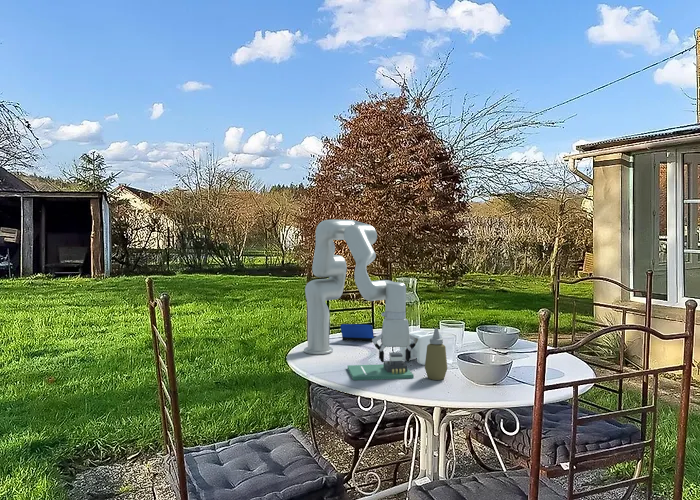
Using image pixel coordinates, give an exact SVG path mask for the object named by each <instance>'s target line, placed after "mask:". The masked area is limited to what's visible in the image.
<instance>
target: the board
mask: <svg viewBox="0 0 700 500" xmlns="http://www.w3.org/2000/svg"><path fill="white" fill-rule="evenodd" d="M402 361H403V365H400V362H394V365H389V360H384V362H383V364H358V365H357V364H354V365H353V364H351V365H347V371H348V372H349V375H350V376H351V379H352V380H353V381H365V380H367V381H370V380H372V381H373V380H374V381H375V380H398V379H399V380H400V379H415V378H414V376H415V375H414V373H413V372H412V371H411V370H410V369H409V368H408V367H409V366H408V364H407V363H406V361H404V360H402Z"/></svg>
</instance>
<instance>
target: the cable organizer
mask: <svg viewBox="0 0 700 500" xmlns="http://www.w3.org/2000/svg"><path fill="white" fill-rule="evenodd" d="M409 334H410V335H412V336H414V337H416V338H417V339H418V341H417V343H416V345H415V347H414V348H413V349H412V350H411V358H410V359H409V362H410V360H411V361H412V360H416V363H418V364H419V365H421V366H425V361H426V352H427V345H429V344H431V343H430V338H433V334H434V332H433V333H428V334H427V332H426V331H425V330H415V331H409ZM439 336H440V338H442V339H443V334H442V333H440V332H439ZM412 342H413V340H412V339H410V343H409V345H410V344H411V343H412ZM406 349H407V348H406V347H399V352H400V353H401V354H402V360H403V361H404V362H407V361H406V359H405V357H406ZM416 358H417V359H416Z"/></svg>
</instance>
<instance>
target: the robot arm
mask: <svg viewBox="0 0 700 500" xmlns="http://www.w3.org/2000/svg"><path fill="white" fill-rule="evenodd" d="M377 239H378V233H377V230H376V228H375V227H374V226H372V225H371V224H368V223H366V222H365V223H364V222H361V221H357V220H354V219H326V220H325V219H324V220H322V221H321V222H319V223H318V225H317V226H316V229H315V247H314V254H313V260H312V267H311V269H312V275H314V276H315V277H316V279H312V280H310V281H309V282H307V283H306V285H305V286H304V287H305V289H304V293H305V294H304V295H305V298H306V304H307V305H306V306H307V307H306V308H307V347H304V349H303V350H304V351H303V352H304V353H306V354H308V355H309V354H310V355H327V354H331V353H333V351H334V348H333V347H331V346H330V310H329V307H328V305H327V303H326V301H333V300H337V299H340V298H341V296H342V295H343V294H344V293H343V292H344V289H345V281H346V276H347V271H348V268H347V267H348V265H347V262H346V259H345V258H344V257H343V256H342V255H339V254H335V251H336V246H335V245H336V244H335V242H334V241H336V240H337V241H342V240H343V241H345V242H346V245H347V247H348V248H349V252H350V253H351V256H352V257H353V259H354V262H355V268H354V273H353V275H354V283H355V285H356V287H357V290H358V291H359V293H360V295H361V297H363V299H364V300H366V301H369V302H375V301H384V300H385V305H384V306H385V307H384V308H385V310H384V312H381V317H384V318H383V321H382V327H381V333H380V334H379V335H376V336H377V337H375V338H373V339H372V341H373V342H372V343H373V345H374V347H375V348H376V349H377V350H378V360H380V362H381V363H384V361H385V351H384V350H385V348H400V347H406V348H407V349H406V357H405V359H406V361H405V362H410V361H409V359H410V358H411V350H412V349H413V348H414V347H415V345H416V343H417V341H418V339H417V338H416V337H414V336H412V335H410V334H409V332H410V328H409V326H410V325H409V320H408V319H407V318H406V314H407V313H406V309H407V308H406V303H407V302H406V301H407V286H406V284H405V283H403V282H399V281H397V282H396V281H392V280H389V279H381V280H380V279H379V280H378V279H377V280H371V278H370V276H369V274H368V271H367V266H369V265H370V264H371V263H372V262H374V261H375V259H376V257H377V254H376V251H375V250H374V248H373V244H375V243H376V241H377ZM317 277H318V278H319V279H318V278H317ZM410 339H412V340H413V342H412V343H411V344H410V345H409V343H410ZM378 341H381V342H380V343H381V344H380V345H379V344H378Z"/></svg>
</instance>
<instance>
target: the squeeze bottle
mask: <svg viewBox="0 0 700 500" xmlns="http://www.w3.org/2000/svg"><path fill="white" fill-rule="evenodd" d="M433 333H434V334H433V338H430V343H431V344H429V345H427V352H426V361H425V365H424V370H425V373H426V376H427V379H429V380H433V381H440V380H441V381H442V380H444V379H445V378H446V377H445V376H446V374H447V371H448V360H447V349H446V346H445V344H443V343H444V339H443V337H442V338H440V336H439V333H440V332H439V328H434V331H433Z"/></svg>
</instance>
